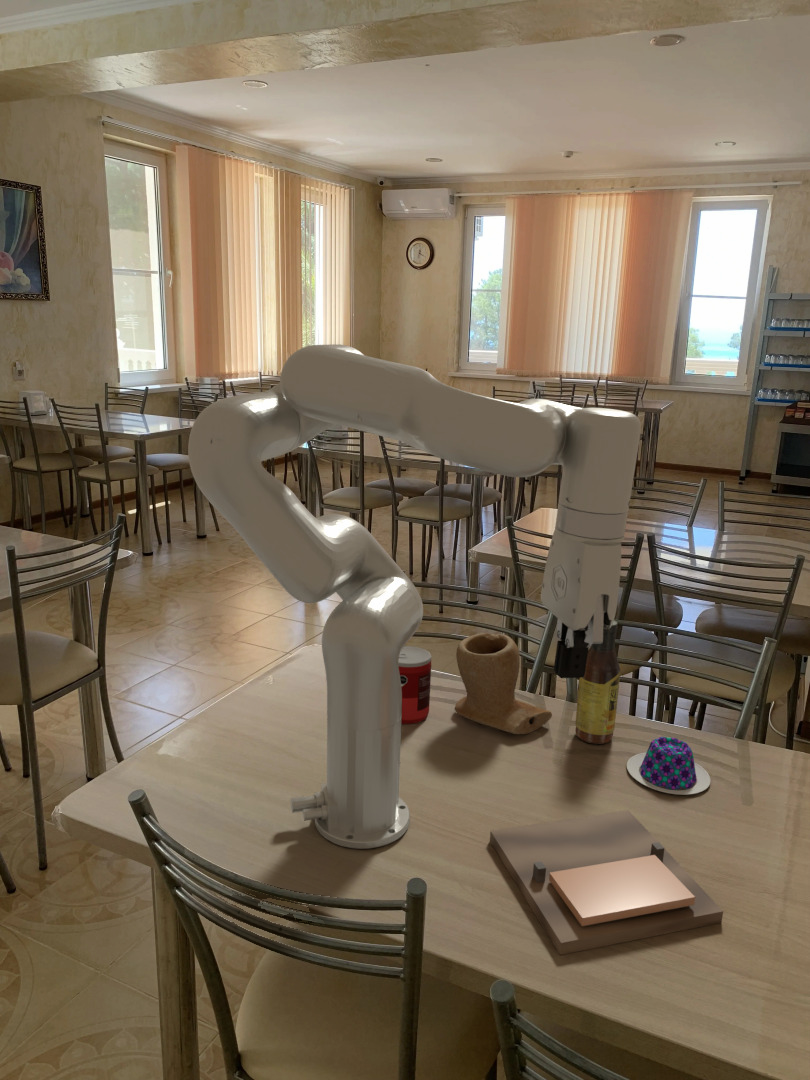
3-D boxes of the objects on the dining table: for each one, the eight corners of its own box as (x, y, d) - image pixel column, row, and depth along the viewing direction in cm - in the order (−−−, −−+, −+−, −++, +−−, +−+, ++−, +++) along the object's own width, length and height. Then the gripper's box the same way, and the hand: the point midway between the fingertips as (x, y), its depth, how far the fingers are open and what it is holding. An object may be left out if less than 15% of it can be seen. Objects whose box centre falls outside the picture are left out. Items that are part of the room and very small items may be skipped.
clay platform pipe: (438, 719, 135) (442, 636, 131) (478, 697, 144) (483, 618, 140) (514, 751, 126) (521, 662, 122) (552, 725, 134) (560, 641, 131)
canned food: (376, 706, 139) (378, 647, 136) (420, 701, 141) (423, 643, 138) (389, 727, 132) (391, 665, 129) (435, 722, 134) (438, 661, 131)
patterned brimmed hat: (615, 755, 126) (619, 725, 124) (690, 755, 127) (694, 725, 125) (642, 799, 114) (646, 766, 113) (723, 799, 115) (728, 766, 114)
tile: (582, 918, 86) (581, 927, 86) (695, 896, 90) (694, 906, 90) (549, 872, 93) (548, 881, 94) (654, 854, 97) (653, 863, 98)
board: (489, 840, 103) (491, 818, 102) (627, 819, 109) (629, 798, 108) (560, 954, 85) (562, 928, 84) (721, 922, 90) (725, 897, 89)
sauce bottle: (614, 748, 127) (627, 631, 122) (574, 743, 129) (585, 627, 123) (612, 729, 134) (624, 617, 129) (574, 724, 135) (584, 613, 130)
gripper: (532, 505, 94) (514, 649, 99) (590, 541, 80) (566, 706, 85) (591, 506, 96) (570, 648, 101) (657, 541, 82) (629, 703, 87)
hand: (568, 674), depth 93 cm, fingers closed
